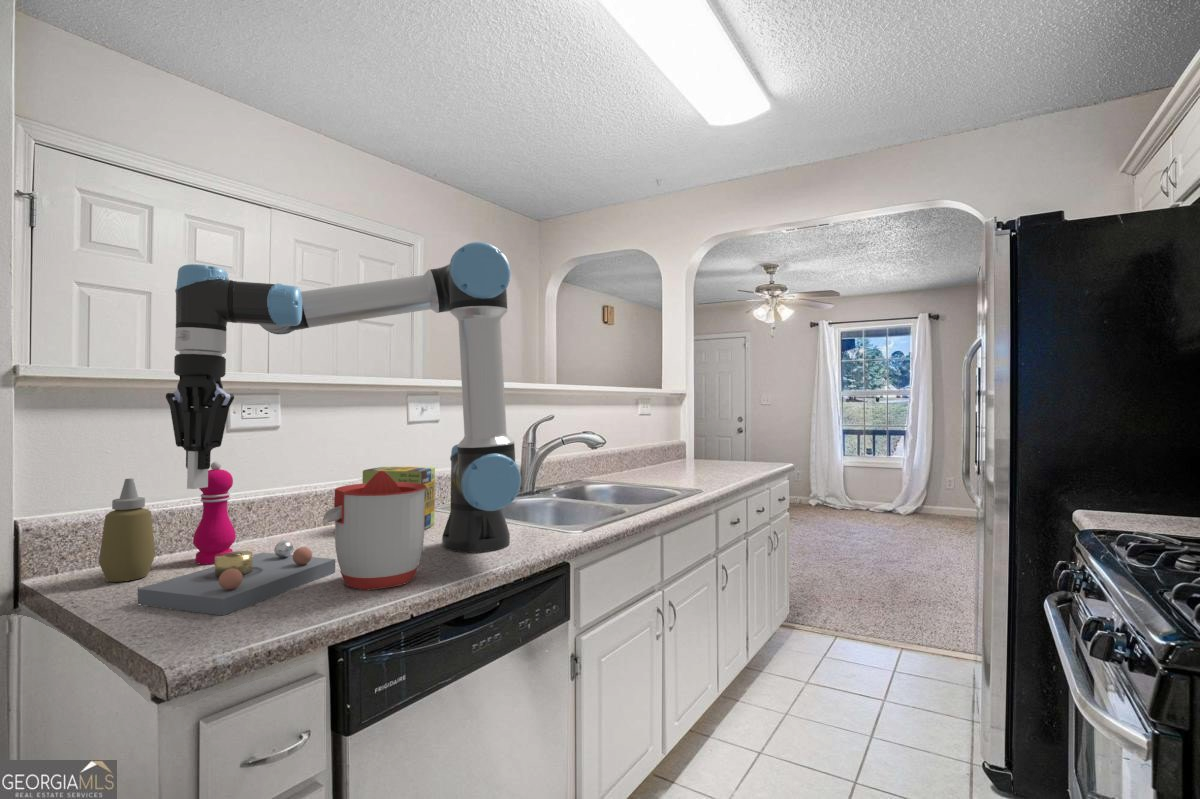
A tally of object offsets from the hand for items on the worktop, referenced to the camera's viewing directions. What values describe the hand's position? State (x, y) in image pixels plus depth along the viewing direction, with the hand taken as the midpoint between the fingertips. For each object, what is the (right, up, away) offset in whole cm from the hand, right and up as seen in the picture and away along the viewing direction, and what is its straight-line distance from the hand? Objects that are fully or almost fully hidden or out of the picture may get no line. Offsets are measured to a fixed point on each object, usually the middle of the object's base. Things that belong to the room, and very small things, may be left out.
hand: (197, 487), depth 103 cm
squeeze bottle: (-15, -17, +3) cm, 23 cm away
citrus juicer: (+31, -17, +2) cm, 35 cm away
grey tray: (+9, -17, -2) cm, 20 cm away
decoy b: (+13, -13, -11) cm, 21 cm away
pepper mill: (-7, -17, +15) cm, 24 cm away
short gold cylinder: (+8, -14, -2) cm, 16 cm away
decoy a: (+17, -13, +4) cm, 21 cm away
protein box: (+19, -18, +47) cm, 54 cm away
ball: (+11, -13, +8) cm, 19 cm away
